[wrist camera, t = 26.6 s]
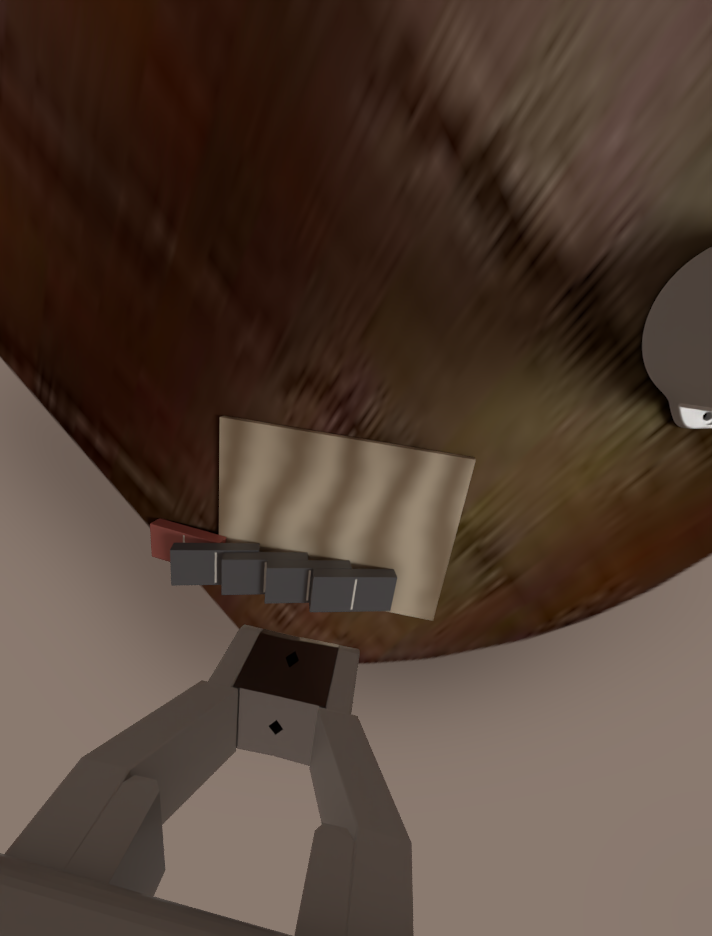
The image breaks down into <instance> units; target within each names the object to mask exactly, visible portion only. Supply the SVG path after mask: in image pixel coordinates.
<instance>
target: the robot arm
mask: <svg viewBox="0 0 712 936" xmlns="http://www.w3.org/2000/svg"><path fill="white" fill-rule="evenodd" d="M642 354H643V360H644V364H645V368H646V370H647V373H648V375H649V376H650V378H651V380H652V381H653V383H654V384H655V385H656V386H657V387H658V389H659V390H660V391H661V392H662V393H663V394H664V395H665V396H666V398H667V399H668V401H669V405H670V410H671V414H672V417H673V420H674V422H675V423H676V425H678V426H679V427H682V428H691V429H702V428H712V247H710V248H708V249H706V250H705V251H703V252H701V253H700V254H698V255H697V256H695V257H694V258H693V259H691V260H690V261H689V262H688V263H686V264H685V265H684V266H683V267H682V268H681V269H680V270H679V271H677V272H676V273H675V275H674V276H673V277H672V278H671V279H670V280H669V281H668V282H667V284H666V285H665V286H664V288H663V289H662V290H661V292H660V293H659V295H658V296H657V298H656V300H655V302H654V303H653V305H652V307H651V310H650V312H649V314H648V317H647V320H646V323H645V327H644V331H643V338H642ZM706 412H707V415H706V417H705V418H704V419H703V415H704V414H705V413H706ZM358 661H359V649H355V648H350V647H345V646H339V645H336V644H331V643H326V642H321V641H316V640H311V639H306V638H299V637H295V636H291V635H287V634H283V633H279V632H275V631H270V630H266V629H261V628H257V627H252V626H248V625H243V626H242V627H241V628H240V629H239V631H238V632H237V634H236V636H235V637H234V639H233V641H232V642H231V644H230V646H229V647H228V649H227V651H226V652H225V654H224V656H223V657H222V659H221V661H220V662H219V664H218V666H217V667H216V669H215V671H214V673H213V674H212V676H211V678H210V679H209V681H208V682H207V681H200V682H199V683H197V684H196V685H194V686H193V687H191V688H189V689H188V690H186V691H185V692H183V693H182V694H180V695H178V696H177V697H175V698H174V699H172V700H171V701H169V702H168V703H166V704H165V705H163V706H161V707H160V708H158V709H157V710H155V711H154V712H152V713H150V714H149V715H147V716H146V717H144V718H143V719H141V720H140V721H138V722H136V723H135V724H133V725H132V726H130V727H129V728H127V729H126V730H124V731H122V732H121V733H119V734H118V735H116V736H115V737H113V738H112V739H110V740H108V741H107V742H106V743H104V744H102V745H101V746H99V747H98V748H96V749H95V750H93V751H91V752H90V753H88V754H87V755H85V756H84V757H82V758H81V759H80V760H79V762H78V763H77V764H76V765H75V767H74V768H73V769H72V770H71V772H70V773H69V774H68V775H67V777H66V778H65V779H64V780H63V781H62V783H61V784H60V785H59V787H58V788H57V789H56V790H55V792H54V793H53V794H52V795H51V797H50V798H49V799H48V800H47V801H46V803H45V804H44V805H43V806H42V808H41V809H40V810H39V811H38V813H37V814H36V815H35V816H34V818H33V819H32V820H31V822H30V823H29V824H28V825H27V827H26V828H25V829H24V830H23V831H22V833H21V834H20V835H19V837H18V838H17V839H16V840H15V841H14V843H13V844H12V845H11V846H10V848H9V849H8V850H7V852H6V853H5V854H1V853H0V936H292V935H288V934H285V933H281V932H278V931H274V930H270V929H267V928H263V927H260V926H256V925H252V924H249V923H246V922H242V921H239V920H235V919H231V918H228V917H224V916H221V915H217V914H213V913H210V912H207V911H203V910H200V909H196V908H192V907H189V906H185V905H182V904H178V903H175V902H171V901H167V900H164V899H160V898H157V897H153V896H154V894H155V892H156V890H157V887H158V885H159V883H160V881H161V878H162V876H163V874H164V872H165V860H164V846H163V832H162V824H163V823H164V822H165V821H166V820H167V819H168V818H169V817H170V816H171V815H172V814H173V813H174V812H175V811H176V810H177V809H178V808H179V807H180V806H181V805H182V804H183V803H184V802H185V801H186V800H187V799H188V798H189V797H190V796H191V795H192V794H193V793H194V792H195V791H196V790H197V789H198V788H199V787H200V786H201V785H202V784H203V783H204V782H205V781H206V780H207V779H208V778H209V777H210V776H211V775H212V774H213V773H214V772H215V771H216V770H217V769H218V768H219V767H220V766H221V765H222V764H223V763H224V762H225V761H226V760H227V759H228V758H229V757H230V756H231V755H232V754H233V753H234V752H235V751H236V748H238V749H243V750H248V751H253V752H258V753H262V754H268V755H274V756H276V757H280V758H283V759H287V760H290V761H294V762H298V763H301V764H305V765H308V766H310V772H311V777H312V781H313V786H314V791H315V795H316V800H317V804H318V809H319V813H320V818H321V822H322V825H321V826H320V827H318V828H317V829H316V830H315V833H314V838H313V843H312V849H311V853H310V859H309V864H308V869H307V874H306V879H305V884H304V890H303V895H302V900H301V905H300V910H299V915H298V920H297V925H296V931H295V936H413V895H412V849H411V841H410V839H409V836H408V834H407V831H406V829H405V827H404V824H403V822H402V820H401V817H400V815H399V813H398V810H397V808H396V806H395V804H394V801H393V799H392V796H391V794H390V792H389V789H388V787H387V785H386V782H385V780H384V777H383V775H382V773H381V770H380V768H379V766H378V763H377V761H376V759H375V756H374V754H373V752H372V749H371V747H370V745H369V742H368V740H367V738H366V735H365V733H364V731H363V728H362V726H361V723H360V721H359V719H358V716H355V715H351V711H352V704H353V696H354V688H355V681H356V675H357V668H358Z"/></svg>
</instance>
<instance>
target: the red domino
mask: <svg viewBox="0 0 712 936" xmlns="http://www.w3.org/2000/svg"><path fill="white" fill-rule="evenodd" d="M150 531H151V548H152V556H153V557H156V558H159V559H162V560H166V561H169V562H170V549H171V547H172V545H173V543H226V537H225V536H221V535H218V534H214V533H210V532H207V531H203V530H200V529H196V528H192V527H189V526H185V525H182V524H178V523H175V522H171V521H167V520H164V519H160V518H159V519H157V520H156V521H154V522H152V523H150Z"/></svg>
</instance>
